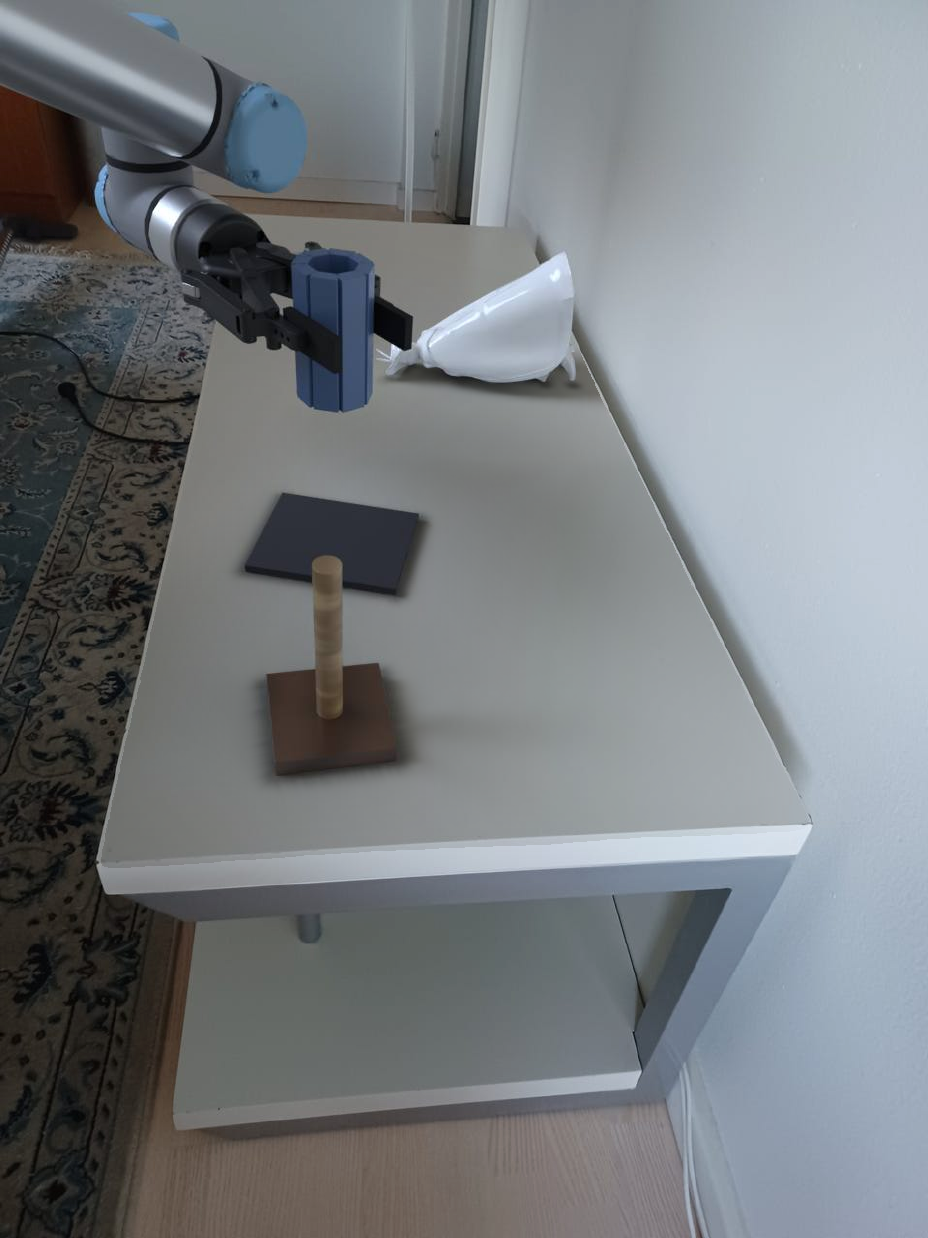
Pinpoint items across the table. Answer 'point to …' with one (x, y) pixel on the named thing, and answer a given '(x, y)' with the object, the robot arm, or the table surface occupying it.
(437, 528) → the table surface
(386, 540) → the mat
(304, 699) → the dowel stand
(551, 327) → the knotted white bag
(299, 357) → the sleeve
